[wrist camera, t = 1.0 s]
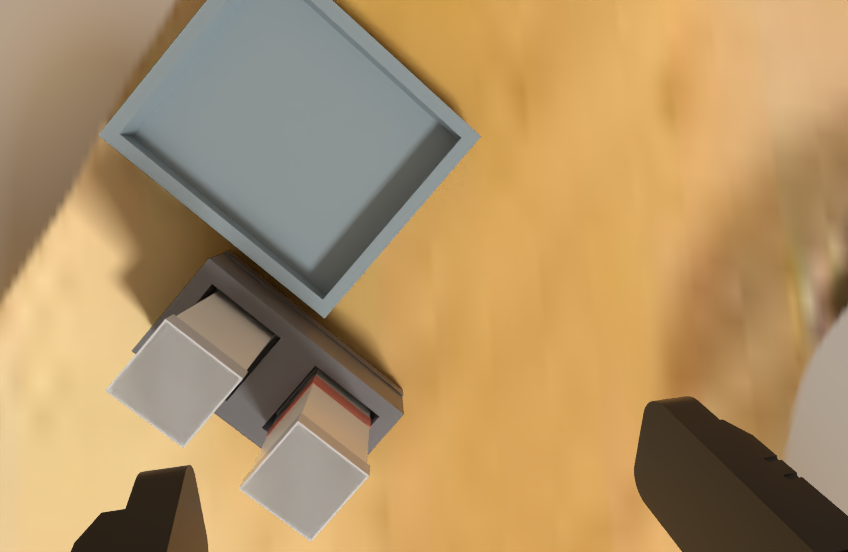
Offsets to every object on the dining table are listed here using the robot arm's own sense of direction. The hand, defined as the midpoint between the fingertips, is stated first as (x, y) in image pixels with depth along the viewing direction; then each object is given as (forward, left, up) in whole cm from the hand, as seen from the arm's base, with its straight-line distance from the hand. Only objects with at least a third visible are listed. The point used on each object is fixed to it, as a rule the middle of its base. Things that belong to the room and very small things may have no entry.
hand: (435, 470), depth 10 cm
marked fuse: (+9, +2, -26) cm, 27 cm away
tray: (-2, -10, -27) cm, 28 cm away
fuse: (+9, -5, -26) cm, 28 cm away
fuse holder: (+9, -2, -27) cm, 28 cm away
